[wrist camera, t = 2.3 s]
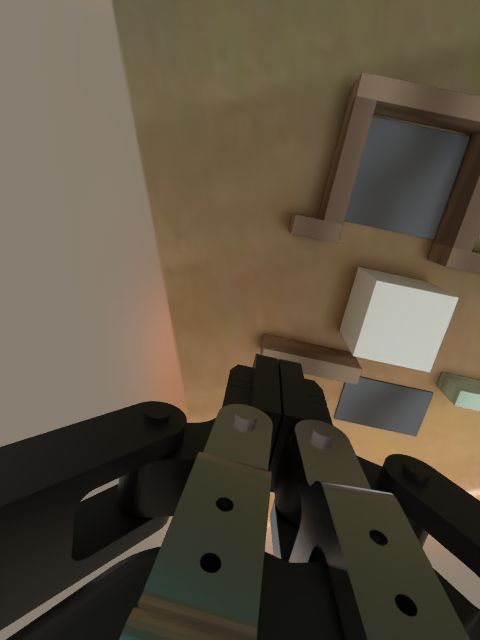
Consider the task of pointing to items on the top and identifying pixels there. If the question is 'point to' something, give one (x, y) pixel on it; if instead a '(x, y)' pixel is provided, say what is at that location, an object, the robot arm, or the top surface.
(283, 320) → the top surface
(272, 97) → the top surface
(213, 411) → the top surface
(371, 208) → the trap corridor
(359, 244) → the top surface
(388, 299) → the cream block
